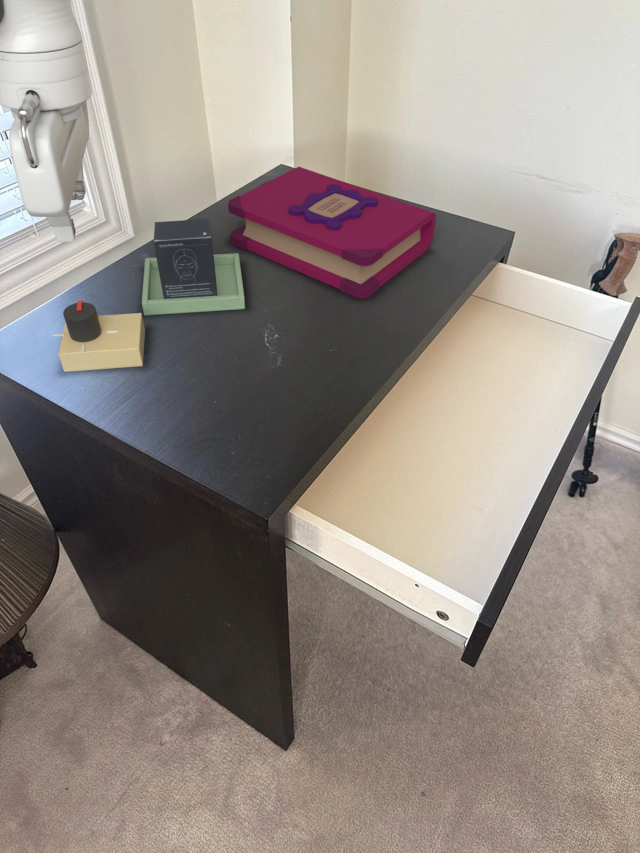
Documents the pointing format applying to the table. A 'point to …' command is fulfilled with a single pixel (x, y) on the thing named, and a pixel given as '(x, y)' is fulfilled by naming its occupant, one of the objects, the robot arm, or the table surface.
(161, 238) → the box
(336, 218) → the book
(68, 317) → the dial
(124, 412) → the table surface
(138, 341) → the panel
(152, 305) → the tray
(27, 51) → the robot arm
